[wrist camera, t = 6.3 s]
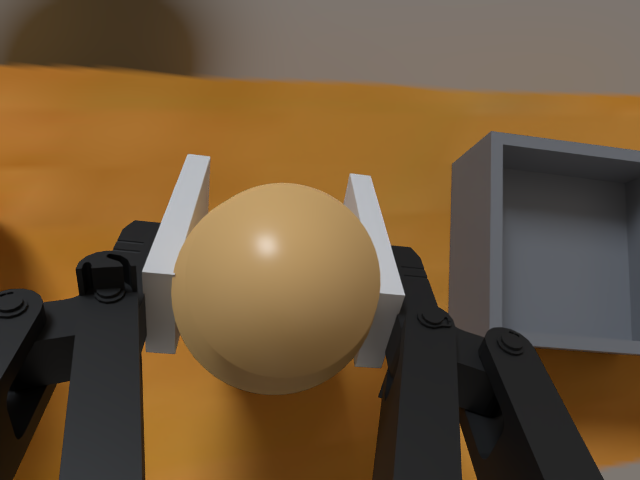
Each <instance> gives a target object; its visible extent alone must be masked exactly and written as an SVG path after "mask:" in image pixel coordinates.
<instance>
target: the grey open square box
mask: <svg viewBox="0 0 640 480" xmlns="http://www.w3.org/2000/svg"><path fill="white" fill-rule="evenodd" d="M448 314H449V315H450V316H451V318H452V319H453V321H454V324H455V327H457V328H459V329H461V330H464V331H466V332H470V333H473V334H476V335H479V336H482V337H485V335H486V333H487V331H488V330H490V329H491V328H494V327H504V328H508V329H512V330H514V331H516V332H518V333H520V334H521V335H523V336H524V337H525V338H527V339H528V340H529V341H530V343H531V344H532V345H533V347H534V348H544V349H557V350H570V351H583V352H595V353H608V354H622V355H640V151H637V150H629V149H621V148H614V147H606V146H599V145H591V144H584V143H576V142H569V141H561V140H554V139H546V138H539V137H531V136H524V135H516V134H509V133H501V132H494V131H491V132H490V133H488V134H487V135H486V136H485V137H484V138H482V139H481V140H480V141H479V142H478V143H477V144H475V145H474V146H473V147H472V148H471V149H469V150H468V151H467V152H466V153H465V154H463V155H462V156H461V157H460V158H459V159H457V160H456V161H455V162H454V163H453V164H452V191H451V231H450V272H449V312H448Z"/></svg>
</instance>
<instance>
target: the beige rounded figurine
mask: <svg viewBox="0 0 640 480" xmlns="http://www.w3.org/2000/svg"><path fill="white" fill-rule="evenodd" d="M173 273H175V277H172V287H171V297H172V308H173V313H174V318H175V322H176V324H177V327H178V330H179V333H180V335H181V337H182V339H183V341H184V343H185V344H186V346H187V348H188V349H189V351H190V352H191V353H192V355H193V356H194V358H195V359H196V360H197V361H198V362H199V363H200V364H201V365H202V366H203V367H204V368H205V369H206V370H208V371H209V372H210V373H211V374H213V375H214V376H215V377H217V378H218V379H220V380H222V381H223V382H225V383H227V384H229V385H231V386H233V387H236V388H238V389H241V390H244V391H248V392H252V393H257V394H265V395H283V394H290V393H296V392H300V391H303V390H307V389H310V388H312V387H315V386H317V385H319V384H321V383H323V382H325V381H326V380H328V379H330V378H331V377H333V376H334V375H336V374H337V373H338V372H339V371H341V370H342V369H343V368H344V367H345V366H346V365H347V364H348V363H349V362H350V361H351V360H352V359H353V358H354V356H355V355H356V354H357V352H358V351H359V350H360V348H361V347H362V345H363V343H364V341H365V339H366V338H367V336H368V333H369V331H370V328H371V326H372V323H373V319H374V315H375V312H376V309H377V304H378V300H379V295H380V286H381V284H380V267H379V261H378V257H377V253H376V250H375V247H374V245H373V242H372V240H371V238H370V236H369V234H368V232H367V230H366V229H365V227H364V226H363V224H362V223H361V222H360V220H359V219H358V218H357V217H356V216H355V215H354V213H353V212H352V211H351V210H350V209H349V208H347V207H346V206H345V205H344V204H342V203H341V202H340V201H339V200H337V199H335V198H334V197H332V196H330V195H329V194H327V193H324V192H322V191H320V190H318V189H315V188H312V187H308V186H304V185H299V184H292V183H274V184H266V185H261V186H257V187H254V188H251V189H248V190H245V191H243V192H241V193H239V194H237V195H235V196H233V197H232V198H230V199H229V200H227V201H225V202H223V203H222V204H220V205H219V206H217V207H216V208H214V209H213V210H211V211H210V212H209V213H208V214H207V215H206V216H204V217H203V218H202V219H201V220H200V221H199V223H198V224H197V225H196V226H195V227H194V228H193V229H192V231H191V232H190V234H189V235H188V237H187V238H186V240H185V242H184V244H183V246H182V248H181V250H180V252H179V254H178V257H177V260H176V263H175V267H174V272H173Z"/></svg>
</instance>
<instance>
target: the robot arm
mask: <svg viewBox="0 0 640 480" xmlns="http://www.w3.org/2000/svg"><path fill="white" fill-rule="evenodd" d="M209 177H210V157H209V156H201V155H192V154H188V155H187V158H186V160H185V163H184V165H183V168H182V170H181V173H180V176H179V178H178V181H177V183H176V186H175V188H174V191H173V194H172V196H171V199H170V201H169V204H168V206H167V209H166V211H165V214H164V217H163V219H162V222H161V223H156V222H146V221H136V220H135V221H133V222H132V223H131V224H129V225H128V226H126V227H125V228H124V229H123V230H122V232H121V234H120V236H119V238H118V241H117V242H116V244H115V246H114V248H113V251H103V252H96V253H94V254H91V255H89V256H86V257H85V258H84V259H82V260H81V261H80V262H79V263H78V265H77V267H76V275H77V282H78V289H79V296H76V297H74V298H70V299H65V300H59V301H51V302H44V303H43V301H42V299H41V296H40V295H39V294H37V293H36V292H34V291H31V290H27V289H9V290H5V291H1V292H0V480H13V478H14V476H15V474H16V471H17V469H18V467H19V465H20V463H21V461H22V458H23V456H24V454H25V452H26V450H27V448H28V445H29V443H30V441H31V439H32V437H33V435H34V432H35V430H36V428H37V426H38V424H39V422H40V419H41V417H42V415H43V413H44V411H45V408H46V406H47V404H48V402H49V400H50V398H51V395H52V393H53V391H54V389H55V387H56V384H57V383H61V382H66V381H70V386H69V395H68V404H67V413H66V422H65V431H64V440H63V448H62V457H61V466H60V475H59V480H145V453H144V418H143V383H142V356H141V352H142V349H143V345H144V342H146V352H154V353H168V354H175V352H176V348H177V344H178V340H179V336H180V333H179V330H178V327H177V324H176V322H175V318H174V313H173V308H172V297H171V287H172V277H175V273H173V272H174V267H175V263H176V260H177V257H178V254H179V252H180V250H181V248H182V246H183V244H184V242H185V240H186V238H187V237H188V235H189V234H190V232H191V231H192V229H193V228H194V227H195V226H196V225H197V224H198V223H199V221H200V220H201V219H202V218H203V217H204V216H206V215H207V214H208V203H209ZM344 205H345V206H346V207H347V208H349V209H350V210H351V211H352V212H353V213H354V215H355V216H356V217H357V218H358V219H359V220H360V222H361V223H362V224H363V226H364V227H365V229H366V230H367V232H368V234H369V236H370V238H371V240H372V242H373V245H374V247H375V250H376V253H377V257H378V261H379V267H380V284H381V286H380V295H379V300H378V304H377V309H376V312H375V315H374V319H373V323H372V326H371V328H370V331H369V333H368V336H367V338H366V339H365V341H364V343H363V345H362V347H361V348H360V350H359V351H358V352H357V354H356V355H355V356H354V364H355V366H356V367H370V368H381V367H382V364H383V361H384V358H385V355H386V359H387V364H388V370H387V373H386V376H385V378H384V381H383V384H382V387H381V390H380V393H379V396H378V397H379V398H382V402H381V411H380V419H379V427H378V436H377V444H376V453H375V461H374V470H373V478H372V480H462V471H461V447H460V426H461V429H462V432H463V435H464V438H465V442H466V445H467V448H468V451H469V454H470V458H471V461H472V464H473V467H474V471H475V474H476V477H477V480H604V479H603V477H602V475H601V473H600V471H599V469H598V467H597V466H596V464H595V462H594V460H593V458H592V456H591V454H590V452H589V450H588V449H587V447H586V445H585V443H584V441H583V439H582V437H581V435H580V433H579V432H578V430H577V428H576V426H575V424H574V422H573V420H572V418H571V416H570V415H569V413H568V411H567V409H566V407H565V405H564V403H563V401H562V399H561V398H560V396H559V394H558V392H557V390H556V388H555V386H554V384H553V382H552V380H551V379H550V377H549V375H548V373H547V371H546V369H545V367H544V365H543V363H542V362H541V360H540V358H539V356H538V354H537V352H536V350H535V348H534V347H533V345H532V344H531V343H530V341H529V340H528V339H527V338H525V337H524V336H523V335H521V334H520V333H518V332H516V331H514V330H512V329H508V328H504V327H494V328H491V329H490V330H488V331H487V333H486V335H485V337H482V336H479V335H476V334H473V333H470V332H466V331H464V330H461V329H459V328H457V327H455V324H454V321H453V319H452V318H451V316H450V315H449V314H448V313H447V312H445V311H444V310H442V309H441V308H439V307H438V306H437V303H436V300H435V297H434V294H433V292H432V289H431V286H430V283H429V281H428V279H427V275H426V272H425V270H424V267H423V264H422V261H421V258H420V257H419V256H418V255H417V254H416V253H415V252H414V251H413V249H412V248H411V247H401V246H392V245H390V242H389V238H388V235H387V231H386V228H385V224H384V221H383V217H382V214H381V210H380V207H379V203H378V200H377V197H376V193H375V190H374V186H373V183H372V179H371V176H367V175H359V174H350V176H349V181H348V185H347V190H346V195H345V199H344ZM459 422H460V424H459Z"/></svg>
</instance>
